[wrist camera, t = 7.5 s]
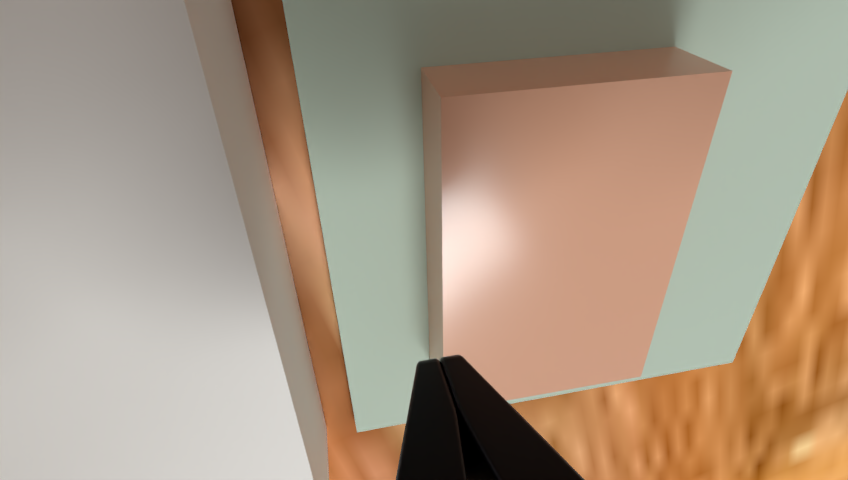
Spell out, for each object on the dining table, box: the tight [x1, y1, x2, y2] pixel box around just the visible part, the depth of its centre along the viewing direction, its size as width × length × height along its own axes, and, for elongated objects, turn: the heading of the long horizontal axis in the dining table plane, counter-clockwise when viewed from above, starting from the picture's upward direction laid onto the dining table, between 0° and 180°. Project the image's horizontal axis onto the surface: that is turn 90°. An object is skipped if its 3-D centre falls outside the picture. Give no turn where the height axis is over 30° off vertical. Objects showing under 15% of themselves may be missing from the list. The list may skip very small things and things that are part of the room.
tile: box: [421, 47, 732, 401], centre depth 13 cm, size 9×6×2 cm, turn 2°
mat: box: [282, 0, 848, 432], centre depth 15 cm, size 15×14×1 cm
